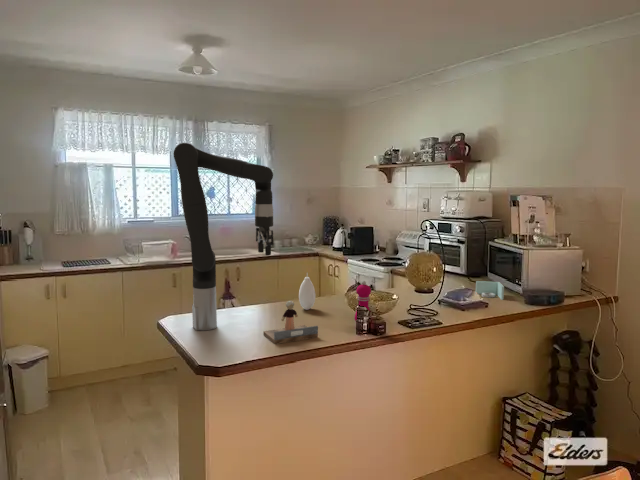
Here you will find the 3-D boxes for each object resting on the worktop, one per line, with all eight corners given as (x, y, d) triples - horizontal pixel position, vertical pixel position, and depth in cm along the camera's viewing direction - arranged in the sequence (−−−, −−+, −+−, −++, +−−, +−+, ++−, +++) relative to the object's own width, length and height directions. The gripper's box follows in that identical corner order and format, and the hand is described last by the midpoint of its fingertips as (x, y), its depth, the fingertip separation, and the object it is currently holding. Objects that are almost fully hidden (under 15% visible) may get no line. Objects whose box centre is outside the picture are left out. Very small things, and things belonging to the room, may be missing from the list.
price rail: (274, 340, 181) (274, 332, 180) (274, 339, 181) (274, 331, 181) (318, 333, 189) (318, 326, 188) (317, 333, 189) (317, 325, 189)
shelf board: (274, 344, 181) (274, 340, 181) (263, 334, 191) (263, 331, 191) (317, 337, 189) (317, 333, 189) (304, 328, 200) (304, 325, 199)
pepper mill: (353, 325, 204) (353, 279, 202) (370, 325, 205) (370, 278, 202) (355, 331, 197) (356, 282, 194) (373, 330, 197) (374, 282, 195)
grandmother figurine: (287, 335, 186) (287, 303, 184) (280, 333, 188) (280, 301, 187) (300, 330, 192) (300, 299, 191) (292, 328, 194) (292, 298, 193)
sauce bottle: (315, 311, 226) (315, 273, 224) (298, 311, 226) (298, 273, 224) (315, 307, 234) (315, 270, 231) (299, 307, 234) (299, 270, 232)
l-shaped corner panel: (475, 294, 264) (476, 281, 263) (498, 295, 262) (499, 281, 261) (479, 299, 252) (479, 285, 251) (503, 300, 250) (504, 286, 249)
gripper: (249, 214, 206) (250, 252, 207) (261, 216, 193) (261, 256, 195) (266, 213, 209) (266, 251, 211) (279, 215, 196) (279, 255, 198)
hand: (264, 253), depth 203 cm, fingers open, 8 cm apart
